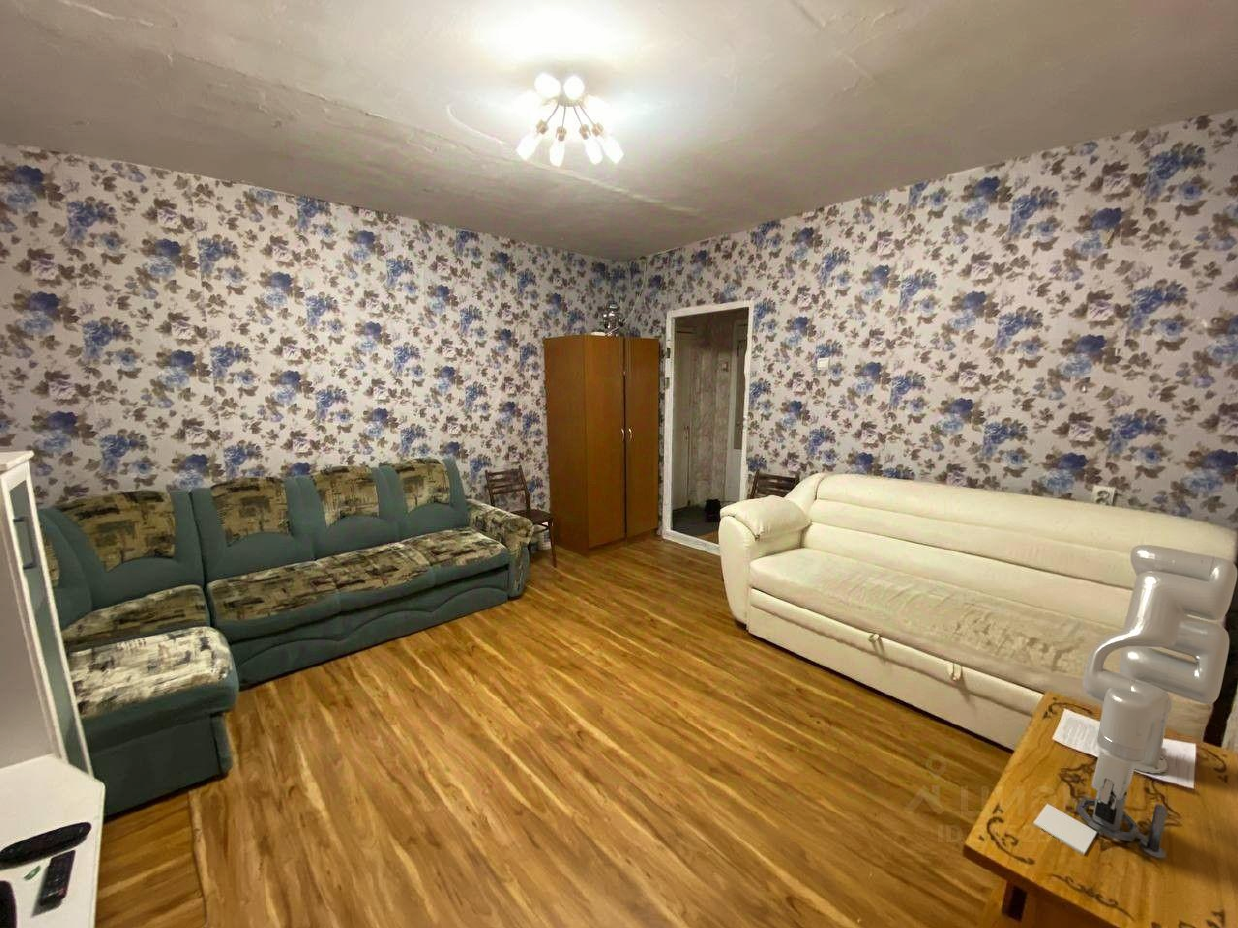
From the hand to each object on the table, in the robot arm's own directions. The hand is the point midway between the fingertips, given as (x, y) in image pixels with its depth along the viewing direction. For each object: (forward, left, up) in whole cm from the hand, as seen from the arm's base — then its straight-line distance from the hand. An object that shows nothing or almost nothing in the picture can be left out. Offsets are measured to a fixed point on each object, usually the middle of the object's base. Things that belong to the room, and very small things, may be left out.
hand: (1107, 812), depth 114 cm
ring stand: (0, +2, -3) cm, 4 cm away
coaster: (+9, -5, -3) cm, 11 cm away
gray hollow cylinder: (0, 0, -4) cm, 4 cm away
